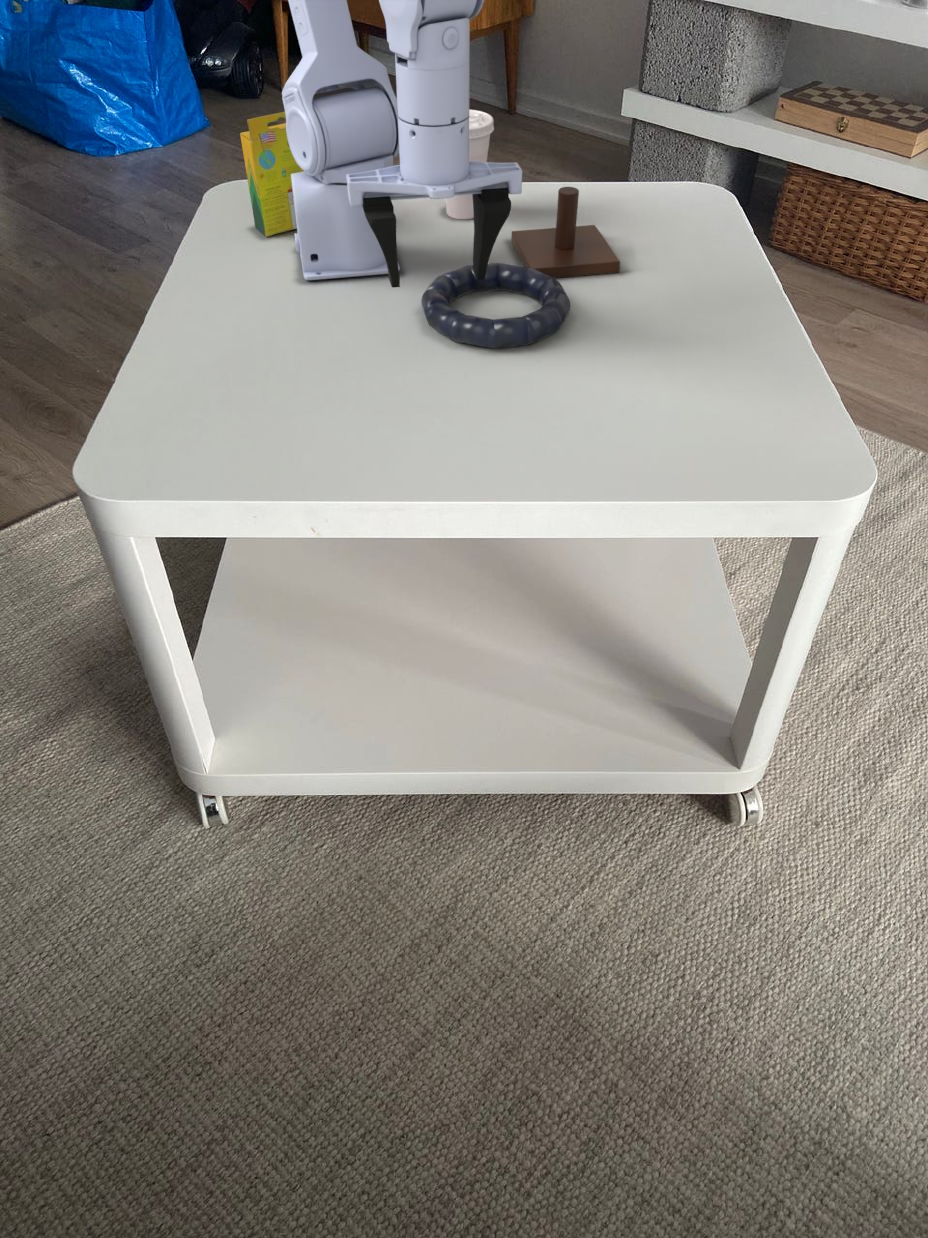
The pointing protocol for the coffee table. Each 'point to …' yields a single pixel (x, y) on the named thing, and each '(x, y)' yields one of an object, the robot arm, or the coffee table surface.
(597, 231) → the wooden ring toss peg
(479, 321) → the dark blue ring
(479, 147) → the smoothie
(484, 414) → the coffee table surface
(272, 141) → the crayon box
